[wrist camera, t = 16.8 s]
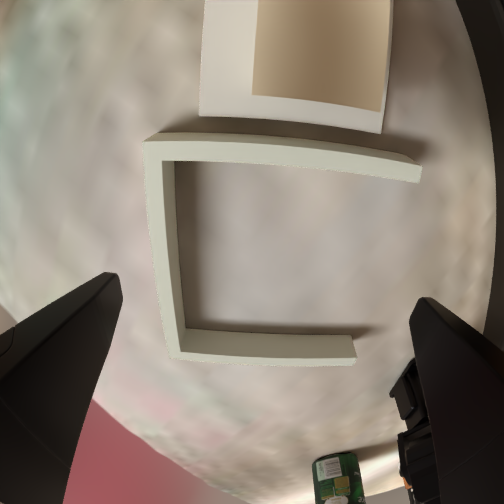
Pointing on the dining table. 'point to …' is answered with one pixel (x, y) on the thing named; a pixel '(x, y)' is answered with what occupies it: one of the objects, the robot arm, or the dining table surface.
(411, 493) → the whiskey bottle
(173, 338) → the open square frame
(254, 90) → the block
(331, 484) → the coffee jar
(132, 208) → the dining table surface
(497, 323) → the food platter
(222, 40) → the rubber mat
